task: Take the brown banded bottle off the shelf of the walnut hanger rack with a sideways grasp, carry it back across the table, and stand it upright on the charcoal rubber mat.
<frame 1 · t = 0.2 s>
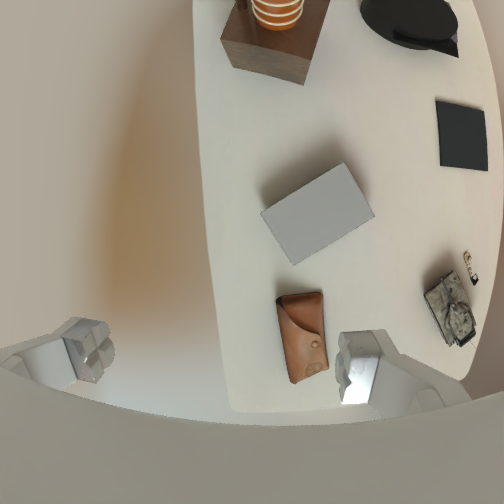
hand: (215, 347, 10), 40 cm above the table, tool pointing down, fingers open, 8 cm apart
hanger rack: (277, 46, 41), on the table
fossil: (478, 267, 48), on the table
rubber mat: (463, 136, 41), on the table
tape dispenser: (404, 23, 37), on the table
sunglasses case: (304, 335, 54), on the table
brown banded bottle: (277, 13, 29), point 12 cm above the table, touching hanger rack
toy tank: (445, 302, 50), on the table
grey rectangular block: (358, 188, 44), point 2 cm above the table
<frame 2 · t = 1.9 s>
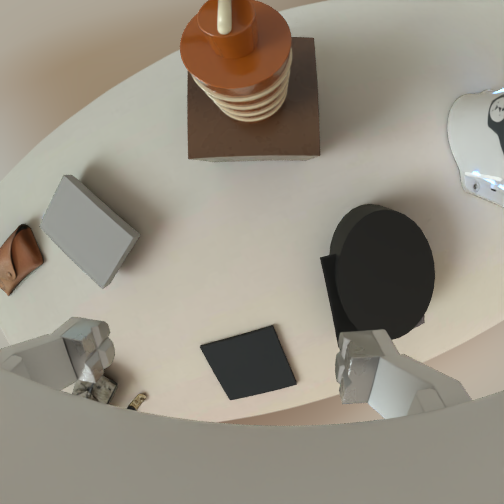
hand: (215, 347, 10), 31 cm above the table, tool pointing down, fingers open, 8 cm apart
hanger rack: (258, 115, 36), on the table
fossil: (143, 411, 51), on the table
rubber mat: (249, 365, 46), on the table
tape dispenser: (370, 266, 40), on the table
sunglasses case: (16, 262, 45), on the table
brown banded bottle: (251, 92, 24), point 12 cm above the table, touching hanger rack
toy tank: (98, 384, 50), on the table
grey rectangular block: (123, 262, 40), point 2 cm above the table
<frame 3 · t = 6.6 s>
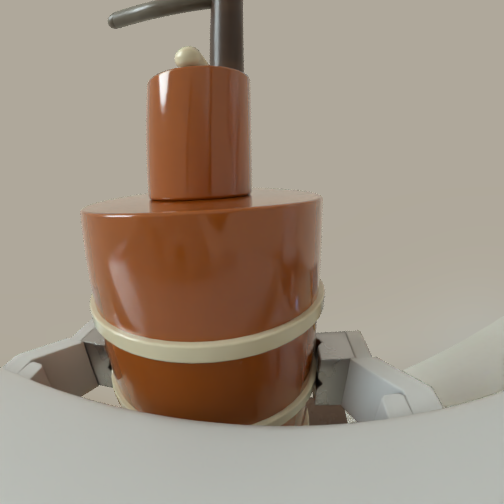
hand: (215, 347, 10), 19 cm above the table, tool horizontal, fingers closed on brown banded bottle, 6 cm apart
brown banded bottle: (227, 477, 11), point 12 cm above the table, touching gripper, hanger rack
when the fingers open (8 cm above the table, at t = 20.8 s): brown banded bottle stays where it is, resting on rubber mat.
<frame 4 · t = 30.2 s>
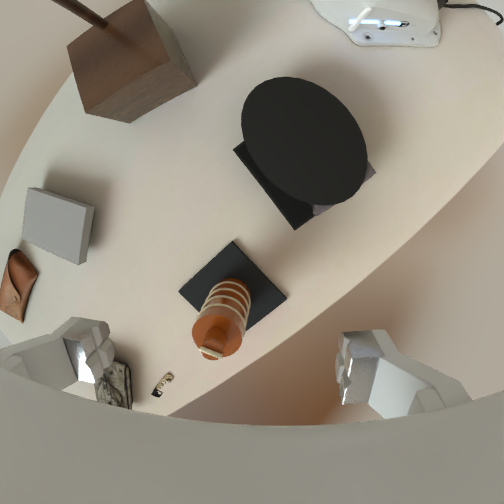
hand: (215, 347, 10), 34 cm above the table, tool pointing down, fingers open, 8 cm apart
hanger rack: (149, 74, 38), on the table
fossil: (169, 393, 54), on the table
rubber mat: (231, 294, 46), on the table
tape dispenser: (298, 146, 40), on the table
sunglasses case: (20, 287, 51), on the table
brown banded bottle: (231, 296, 46), point 1 cm above the table, touching rubber mat
toy tank: (115, 376, 53), on the table
grey rectangular block: (88, 235, 43), point 2 cm above the table
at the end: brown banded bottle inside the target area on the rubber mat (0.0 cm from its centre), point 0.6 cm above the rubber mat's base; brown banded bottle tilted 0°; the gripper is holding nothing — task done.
